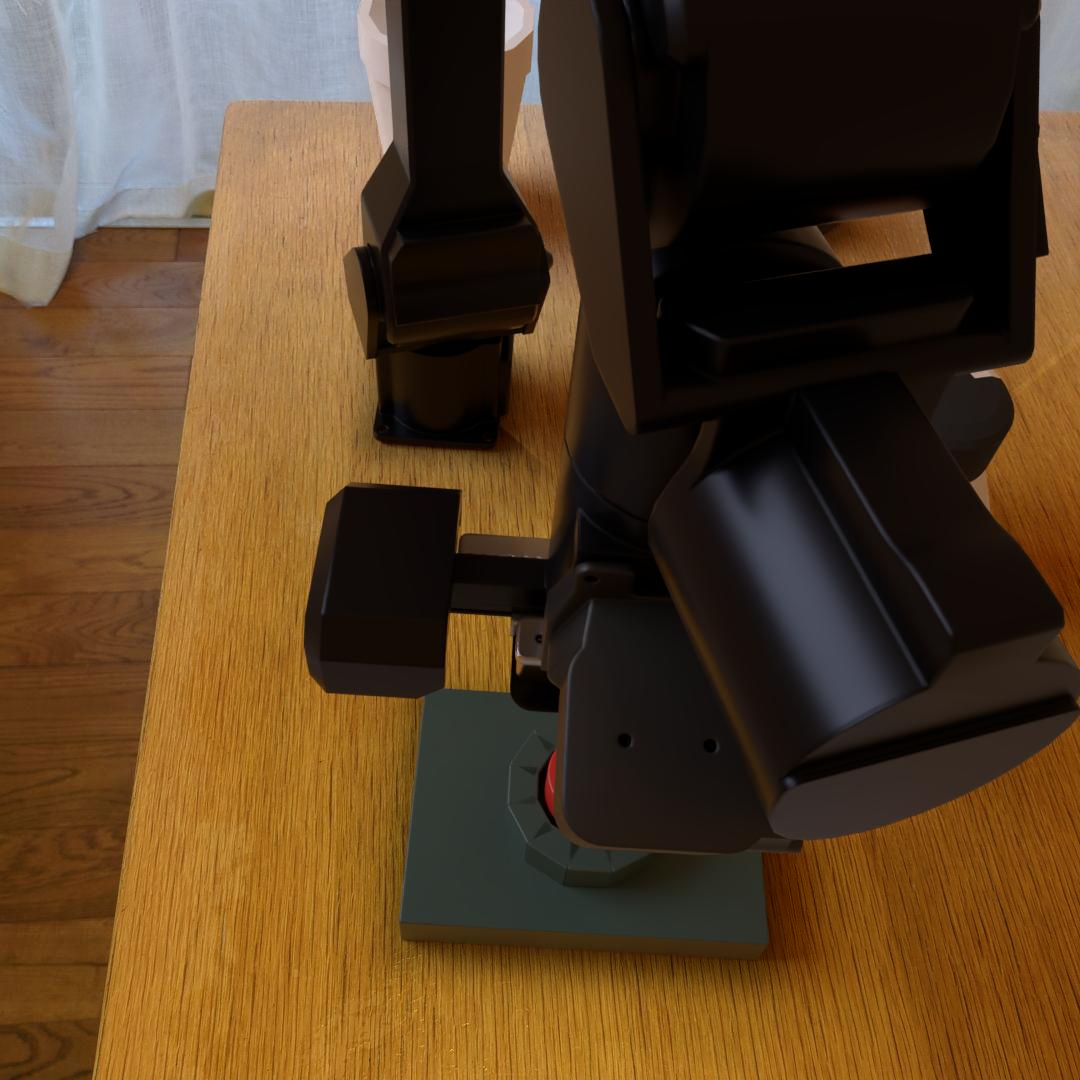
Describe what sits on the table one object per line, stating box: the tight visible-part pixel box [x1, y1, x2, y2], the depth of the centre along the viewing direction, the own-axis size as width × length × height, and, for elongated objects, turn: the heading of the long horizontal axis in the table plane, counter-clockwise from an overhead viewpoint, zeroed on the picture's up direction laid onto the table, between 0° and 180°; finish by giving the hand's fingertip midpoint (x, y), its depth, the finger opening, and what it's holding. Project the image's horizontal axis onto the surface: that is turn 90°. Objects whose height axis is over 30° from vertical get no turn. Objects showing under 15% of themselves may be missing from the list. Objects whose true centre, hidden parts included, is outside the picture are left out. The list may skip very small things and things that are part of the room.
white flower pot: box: [356, 0, 536, 170], centre depth 64 cm, size 10×9×13 cm
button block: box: [398, 688, 770, 961], centre depth 45 cm, size 14×10×4 cm
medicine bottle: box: [931, 369, 1015, 512], centre depth 51 cm, size 7×7×12 cm
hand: (607, 732), depth 39 cm, fingers closed
